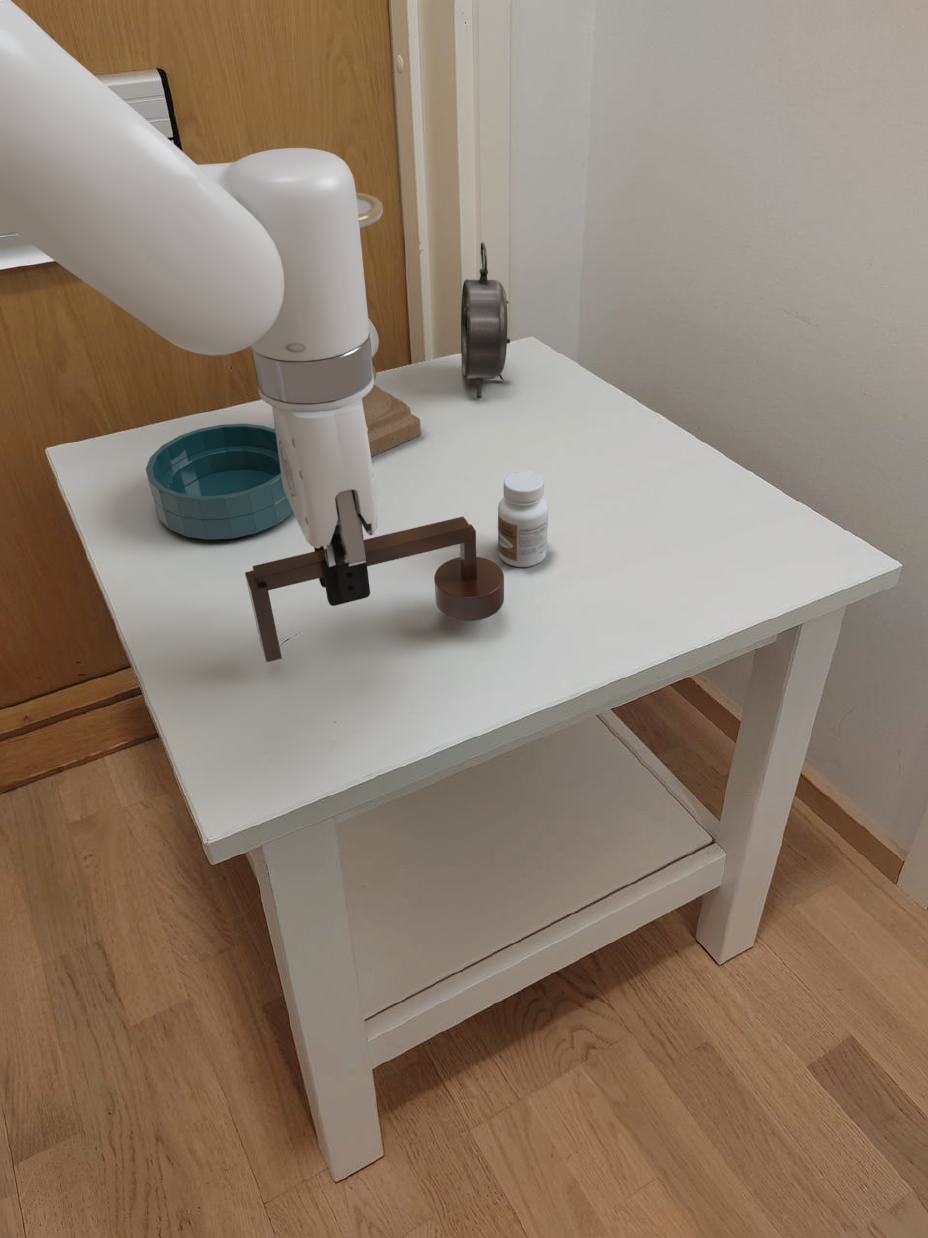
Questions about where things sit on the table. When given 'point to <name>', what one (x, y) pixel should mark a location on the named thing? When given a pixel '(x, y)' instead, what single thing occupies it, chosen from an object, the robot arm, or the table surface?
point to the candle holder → (381, 409)
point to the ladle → (459, 582)
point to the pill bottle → (522, 520)
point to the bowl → (219, 482)
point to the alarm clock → (483, 327)
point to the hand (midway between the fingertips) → (344, 589)
